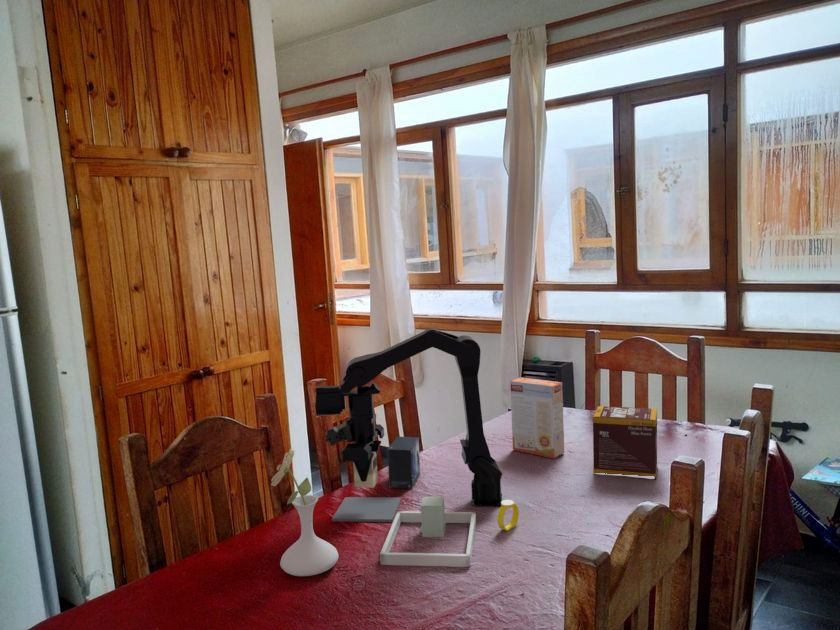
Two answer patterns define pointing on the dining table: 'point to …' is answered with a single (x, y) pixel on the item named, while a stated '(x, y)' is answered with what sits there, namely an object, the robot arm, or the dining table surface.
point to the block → (432, 517)
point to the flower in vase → (304, 532)
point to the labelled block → (371, 477)
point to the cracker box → (537, 416)
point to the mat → (367, 509)
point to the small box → (403, 462)
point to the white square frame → (428, 558)
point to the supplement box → (625, 441)
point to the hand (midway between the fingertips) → (366, 477)
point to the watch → (504, 506)
